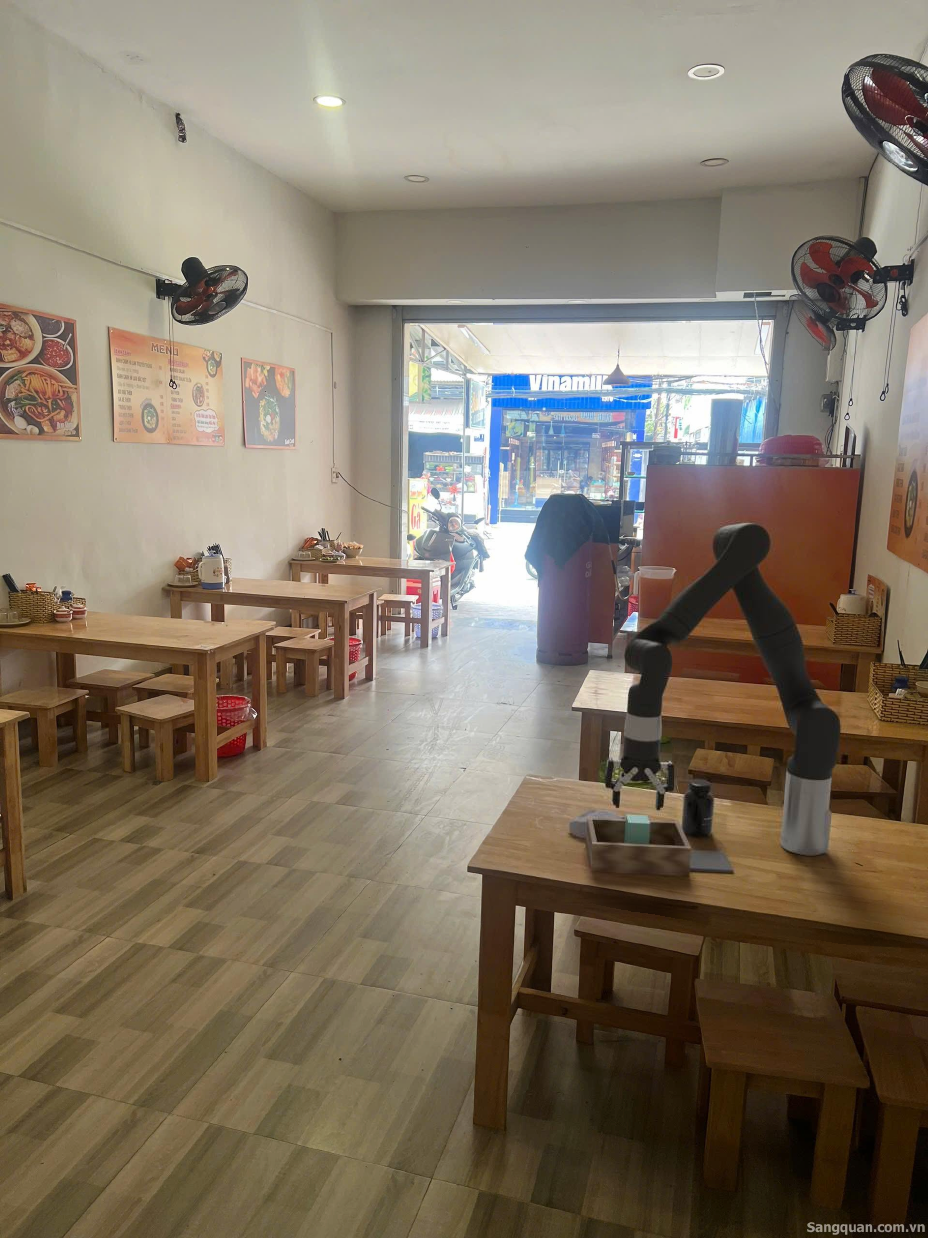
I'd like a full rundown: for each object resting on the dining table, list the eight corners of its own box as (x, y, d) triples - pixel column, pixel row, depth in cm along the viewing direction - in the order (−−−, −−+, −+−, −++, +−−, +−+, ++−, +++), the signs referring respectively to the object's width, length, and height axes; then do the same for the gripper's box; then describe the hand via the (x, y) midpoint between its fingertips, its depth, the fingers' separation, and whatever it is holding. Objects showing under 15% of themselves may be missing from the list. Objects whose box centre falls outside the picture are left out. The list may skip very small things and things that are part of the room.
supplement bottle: (711, 840, 197) (714, 789, 195) (680, 835, 199) (683, 785, 197) (712, 828, 204) (716, 779, 201) (682, 824, 206) (685, 775, 204)
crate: (677, 847, 193) (678, 821, 192) (689, 876, 179) (691, 848, 178) (586, 843, 194) (587, 817, 193) (591, 871, 180) (592, 844, 179)
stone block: (565, 841, 199) (604, 845, 193) (563, 820, 199) (602, 823, 193) (591, 827, 209) (629, 830, 203) (589, 807, 209) (626, 809, 203)
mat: (723, 854, 190) (723, 851, 190) (733, 873, 181) (733, 870, 181) (681, 852, 190) (681, 849, 190) (689, 870, 181) (689, 868, 181)
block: (645, 846, 188) (647, 815, 187) (648, 855, 184) (650, 823, 183) (624, 845, 189) (625, 814, 187) (626, 854, 184) (628, 822, 183)
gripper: (674, 730, 185) (668, 803, 188) (606, 727, 186) (601, 799, 189) (680, 741, 178) (674, 817, 181) (609, 737, 179) (604, 812, 182)
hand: (637, 808), depth 185 cm, fingers open, 8 cm apart
